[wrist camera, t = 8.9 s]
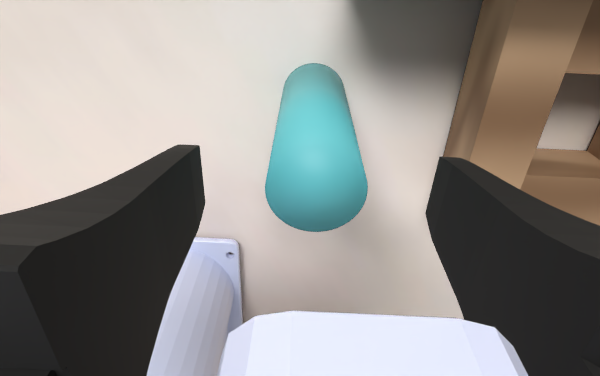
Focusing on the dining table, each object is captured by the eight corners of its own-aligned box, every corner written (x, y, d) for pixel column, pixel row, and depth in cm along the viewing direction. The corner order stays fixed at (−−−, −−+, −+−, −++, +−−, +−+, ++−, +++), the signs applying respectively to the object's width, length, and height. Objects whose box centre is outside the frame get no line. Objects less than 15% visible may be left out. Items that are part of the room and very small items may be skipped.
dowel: (341, 124, 20) (360, 233, 12) (282, 122, 20) (265, 229, 12) (347, 64, 18) (374, 146, 11) (283, 61, 18) (264, 142, 11)
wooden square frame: (615, 197, 22) (655, 230, 19) (435, 189, 22) (451, 221, 19) (723, -3, 17) (798, 6, 14) (486, -14, 17) (518, -7, 14)
